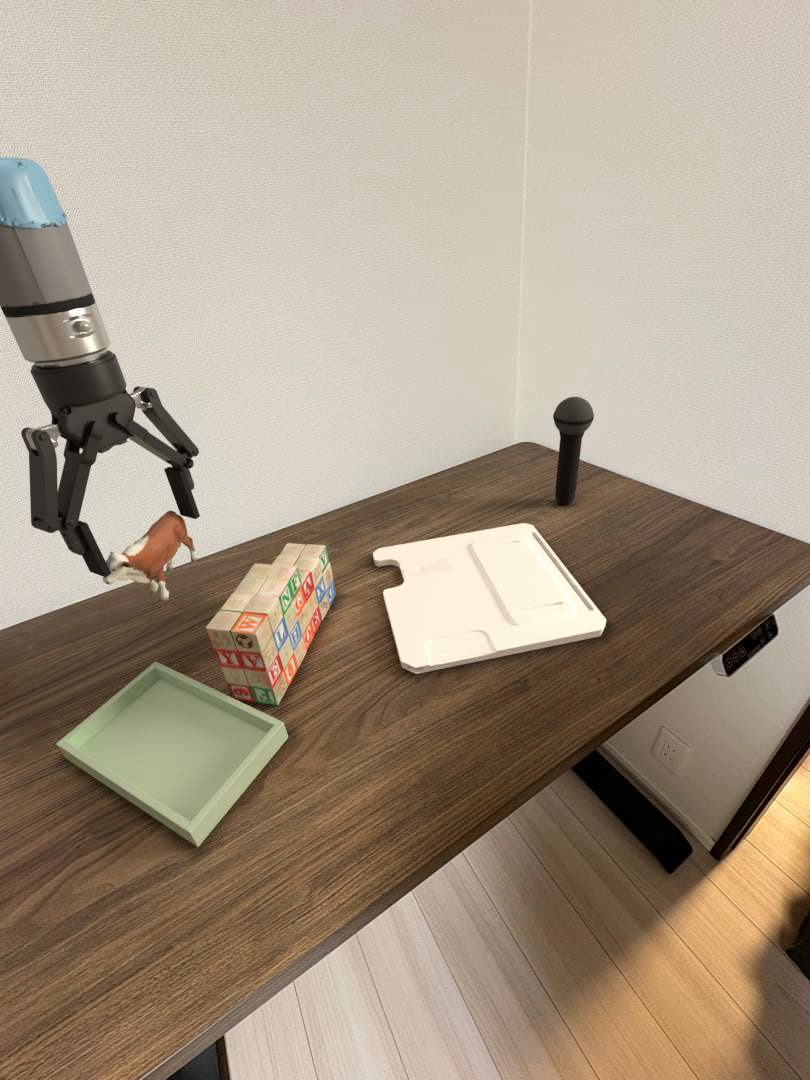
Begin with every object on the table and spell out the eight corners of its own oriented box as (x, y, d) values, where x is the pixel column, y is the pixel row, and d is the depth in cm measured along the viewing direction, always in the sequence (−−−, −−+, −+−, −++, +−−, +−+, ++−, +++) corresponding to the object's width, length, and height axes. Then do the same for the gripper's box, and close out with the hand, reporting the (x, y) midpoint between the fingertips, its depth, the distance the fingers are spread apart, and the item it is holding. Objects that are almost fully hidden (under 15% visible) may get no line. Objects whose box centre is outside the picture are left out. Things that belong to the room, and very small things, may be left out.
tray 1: (65, 758, 60) (55, 743, 59) (162, 675, 70) (155, 661, 68) (198, 847, 51) (189, 832, 49) (288, 737, 60) (284, 722, 59)
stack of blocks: (299, 591, 83) (283, 524, 76) (337, 594, 81) (324, 527, 74) (232, 700, 66) (203, 626, 59) (278, 707, 64) (254, 632, 57)
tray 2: (404, 676, 66) (403, 668, 66) (372, 553, 90) (371, 546, 89) (611, 633, 70) (612, 625, 69) (528, 526, 93) (529, 518, 92)
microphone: (540, 506, 98) (548, 401, 87) (554, 491, 103) (563, 389, 92) (575, 514, 95) (587, 407, 84) (588, 498, 99) (602, 394, 88)
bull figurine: (118, 619, 62) (85, 564, 57) (182, 550, 72) (159, 499, 67) (150, 622, 60) (119, 566, 56) (210, 551, 71) (188, 499, 66)
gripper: (-47, 402, 40) (72, 614, 52) (195, 328, 58) (243, 500, 70) (-92, 393, 44) (29, 594, 56) (149, 326, 61) (203, 490, 73)
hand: (148, 542), depth 63 cm, fingers closed on bull figurine, 12 cm apart
